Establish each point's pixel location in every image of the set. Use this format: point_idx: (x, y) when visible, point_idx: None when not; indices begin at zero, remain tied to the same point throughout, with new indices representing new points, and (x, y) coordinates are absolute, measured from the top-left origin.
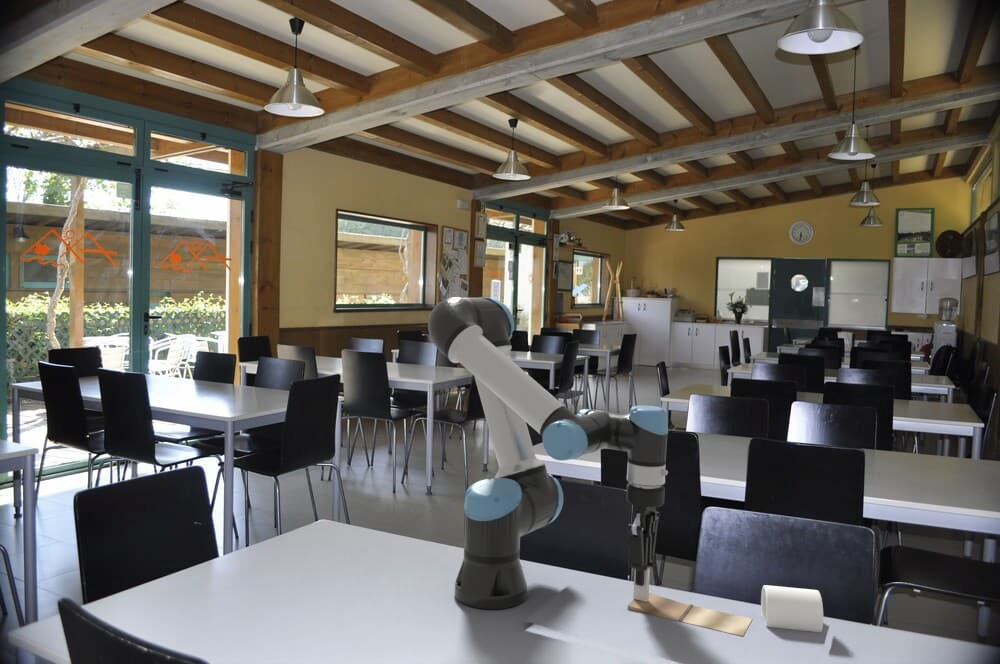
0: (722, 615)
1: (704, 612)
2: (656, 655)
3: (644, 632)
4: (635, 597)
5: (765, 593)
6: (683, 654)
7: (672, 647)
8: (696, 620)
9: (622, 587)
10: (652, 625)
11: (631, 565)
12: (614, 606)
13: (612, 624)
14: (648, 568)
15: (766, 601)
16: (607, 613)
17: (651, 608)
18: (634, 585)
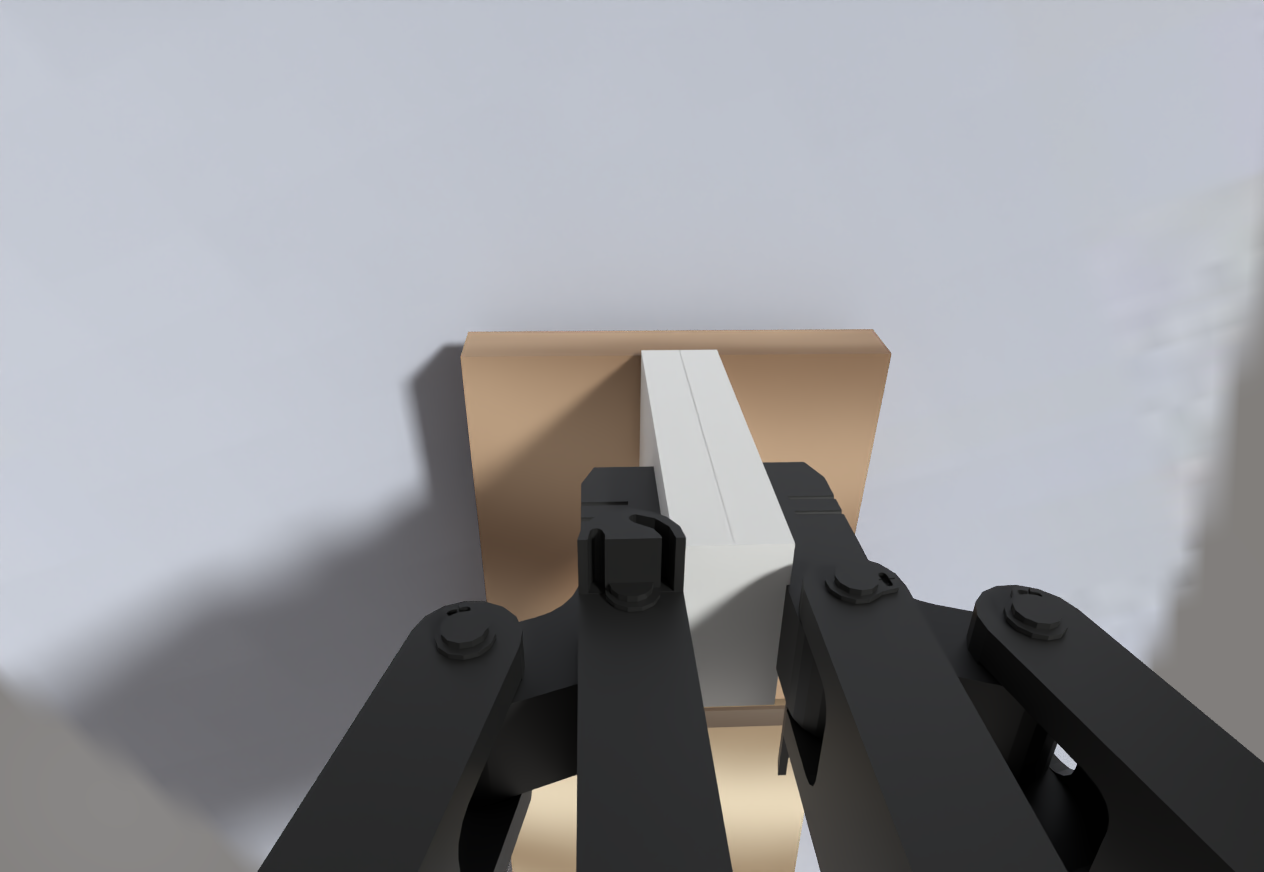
0: (743, 869)
1: (734, 794)
2: (14, 683)
3: (270, 529)
4: (642, 378)
5: None
6: (166, 783)
7: (201, 720)
8: (575, 789)
9: (1137, 24)
10: (426, 538)
11: (403, 654)
12: (598, 137)
13: (208, 272)
14: (734, 700)
15: None
16: (395, 137)
17: (559, 529)
18: (651, 419)
